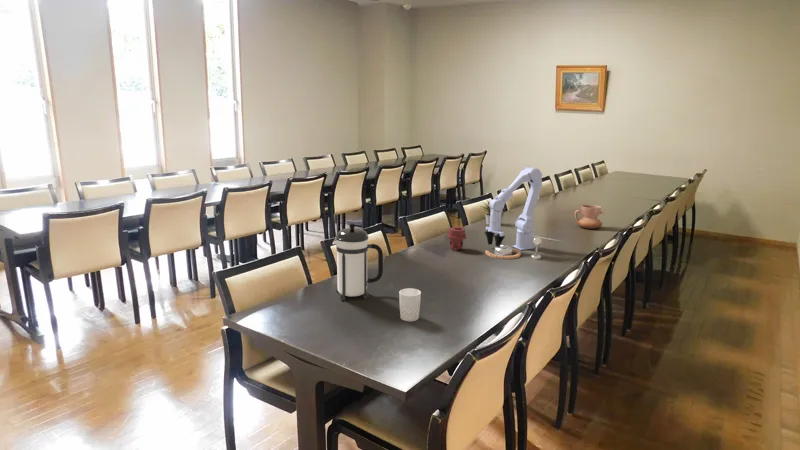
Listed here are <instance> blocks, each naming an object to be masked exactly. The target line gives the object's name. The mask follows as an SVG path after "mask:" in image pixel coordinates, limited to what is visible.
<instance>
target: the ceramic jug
mask: <svg viewBox="0 0 800 450" xmlns="http://www.w3.org/2000/svg"><path fill="white" fill-rule="evenodd" d="M601 210H602V206H600V205H595V204H582V205H580V209H577V210H575V211H574V217H575V220H576V223H577V225H578V226H579V227H581V228H583V229H588V230H593V229H594V230H595V229H599V228H600V227H602V226H603V222H602V221H601V220H600V219H598V216H600V215H601V214H603V215H605V212H604V211H601ZM578 213H581V215H582V217H581V218H580V219H579V218H578Z"/></svg>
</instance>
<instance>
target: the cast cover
mask: <svg viewBox="0 0 800 450" xmlns="http://www.w3.org/2000/svg"><path fill="white" fill-rule="evenodd" d="M512 248H513V246H509V245H508V244H507V243H501V244H500V245H499V246H496V245H495V247H494V254H495V255H501V256H512V255H513V252H512Z"/></svg>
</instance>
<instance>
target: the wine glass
mask: <svg viewBox="0 0 800 450" xmlns="http://www.w3.org/2000/svg"><path fill="white" fill-rule="evenodd" d="M542 243H543V241H542V238H540V237H538V236H537V237H536V236H535V238H534V239H533V244H534V247H535V253H533V254H531V255H530V258H531V259H533V260H541V259H542V255H541V254H538V249H539V247H540V246H541V245H543V244H542Z"/></svg>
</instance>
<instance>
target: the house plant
mask: <svg viewBox="0 0 800 450" xmlns="http://www.w3.org/2000/svg"><path fill="white" fill-rule="evenodd" d="M486 202H487V204H486V203H485V201H484V202H483V201H482V204H483V205H485V206H480V205H479V206H480V208H482V210H481V212H482V211H485V212H487V213H485V214H484V215H485V222H486V225H489V226H490V213H491V208H490V207H489V204H490V202H491V201H488V200H486Z"/></svg>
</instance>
